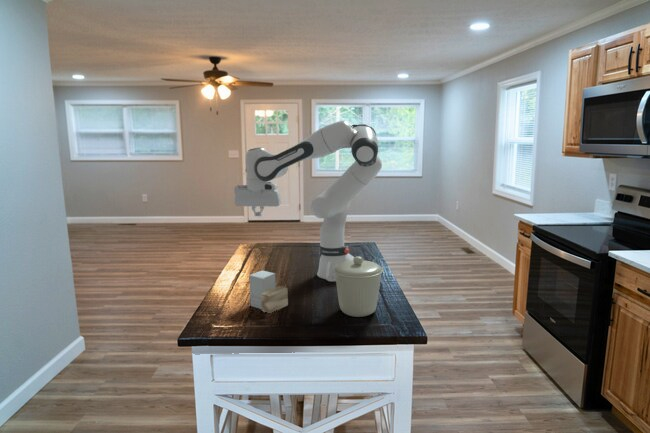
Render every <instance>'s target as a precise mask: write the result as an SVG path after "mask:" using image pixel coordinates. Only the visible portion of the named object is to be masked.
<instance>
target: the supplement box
mask: <svg viewBox="0 0 650 433" xmlns="http://www.w3.org/2000/svg"><path fill="white" fill-rule="evenodd" d="M248 277H249V278H248V279H249V280H248V281H249V294H250V295H249V296H250V306H251V307H253V308H256V309H259V310H262V301H261V293H264V292H266V291H269V290H271V289H273V288H276V287H277V284H276V273H275V272H271V271H268V270H263V269H262V270H260V271H257V272H253V273H252V274H251V273H250V274H249V275H248Z"/></svg>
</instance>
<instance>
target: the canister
mask: <svg viewBox="0 0 650 433" xmlns="http://www.w3.org/2000/svg"><path fill="white" fill-rule="evenodd" d="M353 257H354V259H353V260H350V261H345V262H342V263H340V264H338V265H336V266H335V267H334V268H333V271H334V273H335V276H336V281H335V284H336V292H337V299H338V305H339V308H340V310H341V311H342V313H344V314H345V315H347V316H350V317H356V318H360V317H361V318H362V317H367V316H370V315H371V314H373V313H375V311H376V309H377V305H378V299H379V294H380V293H379V292H380V285H381V279H382V278H381V277H382V276H381V275H382V274H383V272H384V268H383V267H382V266H381V265H379V264H378V263H376V262H375V261H374V262H373V261H371V260H370V261H369V260H364V259H363V257H362V256H357V255H356V256H353Z"/></svg>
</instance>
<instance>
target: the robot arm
mask: <svg viewBox="0 0 650 433" xmlns="http://www.w3.org/2000/svg"><path fill="white" fill-rule="evenodd" d="M341 149H351V151H350V152H351V156H352V157H353V158H354V160H355V161H354V162H353V163H352V164H351V165H350V166H349V167H348V168H347V169H346V170H345V172H343V173H342V174H341V175H340V177H339V178H337V179H336V180H335V181H334V182H333V183H332V184H330V185H329V186H328V187H327V188H325V189H324V190H323V191H322V192H321V193H319V194H318V195H317V196H316V197H315V198H313V200H311V203H310V210H311V212H312V214H313V215H314V217H316V218H318V219H323V222H322V224H321V225H320V228H319V242H320V243H319V245H318V246H319V247H318V256H319V263H318V270H317V273H316V276H317V277H318V278H320V279H323V280H326V281H328V282H336V276H335V273H334V271H333V268H334V267H335V266H336V265H338V264H340V263H342V262H345V261H350V260H353V259H354V257H355V256H353V255H352V254H350V248H349V245H345V226H346V221H347V216H348V212H349V209H350V207H351V205H352V201H353V200H354V199H355V198H357V196H359V194H360V193H362V192H363V191H364V190H365V188H367V187H368V186H369V185H370V183H372V181H373V180H374V179H375V177H377V175H378V174H379V172H380V171H381V169H382V165H383V164H382V161H381V159H380V157H379V156H378V153H379V142H378V137H377V133H376V131H375V129H374V128H373V126H371V125H370V124H366V123H361V124H352V125H351V124H350V123H349V122H348V121H345V120H339V121H336V122H335V121H334V122H333V123H330V124H327V125H325V126H323V127H321V128H319V129H317V130H315V131H313V132H312V133H311V134H309V135H308V136H307V137H306V138H304V139H303V140H302V141H300V142H299V143H297V144H296V145H293V146H292V147H290V148H287V149H286V150H284V151H281V152H280V153H278V154H274V153H272V152H270V151H268V150H266V148H264V147H255V148H250V149H248V150H247V151H246V155H245V170H246V184H243V185H241V184H238V185H236V186H234V190H233V192H234V195H235V196H234V204H235V206H236V207H251V210H252V212H254V217H262V216H263V212H264V209H265V207H275V208H276V207H279V206H281V204H282V201H281V199H282V198H281V193H280V191H279V189H278V187H279V186H278V184H277V183H276V182H273V181H272V180H275V179H279V178H281V177H283V176H284V175H286V173H287V171H288V170H289V168H288V167H291V166H292V165H295V164H297V163H299V162H302V161H307V160H313V159H319V158H324V157H327V156H329V155H331V154H333V153H336V152H337V151H339V150H341ZM257 207H259V209H260V210H259V211H258V210H257Z"/></svg>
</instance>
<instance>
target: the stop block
mask: <svg viewBox="0 0 650 433" xmlns="http://www.w3.org/2000/svg"><path fill="white" fill-rule="evenodd" d="M288 294H289V293H288V287H286V286H281V285H278V286H276V288H273V289H271V290H269V291H266V292H264V293H261V301H262V309H261V312H262V311H263V313H265V312H267V313H266V314H268V313H271V314H272V312H273V313H274V311H275V312H277V311H279V310H281V309H283V308H285V307H287V306H288V305H289V297H288V296H289V295H288ZM276 310H277V311H276Z"/></svg>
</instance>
